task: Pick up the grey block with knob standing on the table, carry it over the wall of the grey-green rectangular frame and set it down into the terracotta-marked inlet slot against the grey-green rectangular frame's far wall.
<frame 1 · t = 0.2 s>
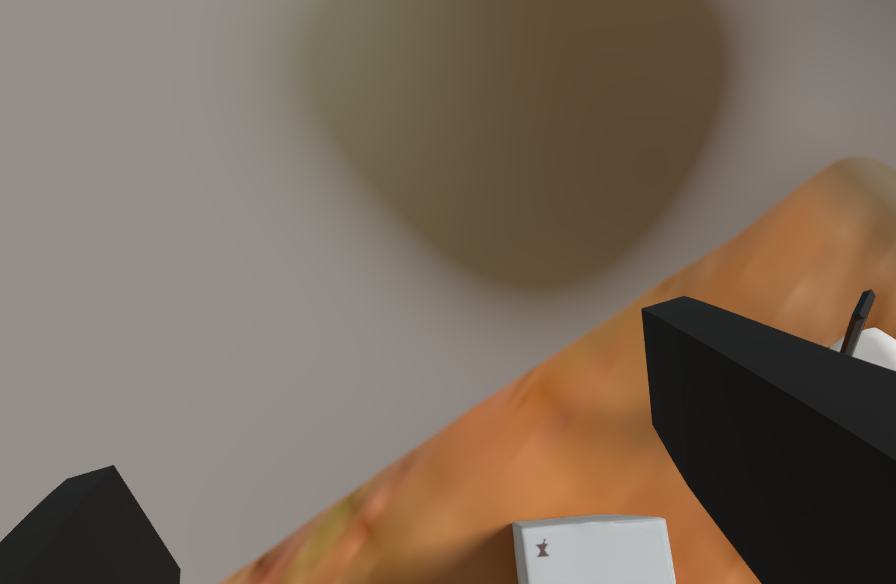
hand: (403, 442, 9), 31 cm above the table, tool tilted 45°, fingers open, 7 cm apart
cocoa: (830, 401, 39), on the table
skincare box: (567, 555, 37), on the table
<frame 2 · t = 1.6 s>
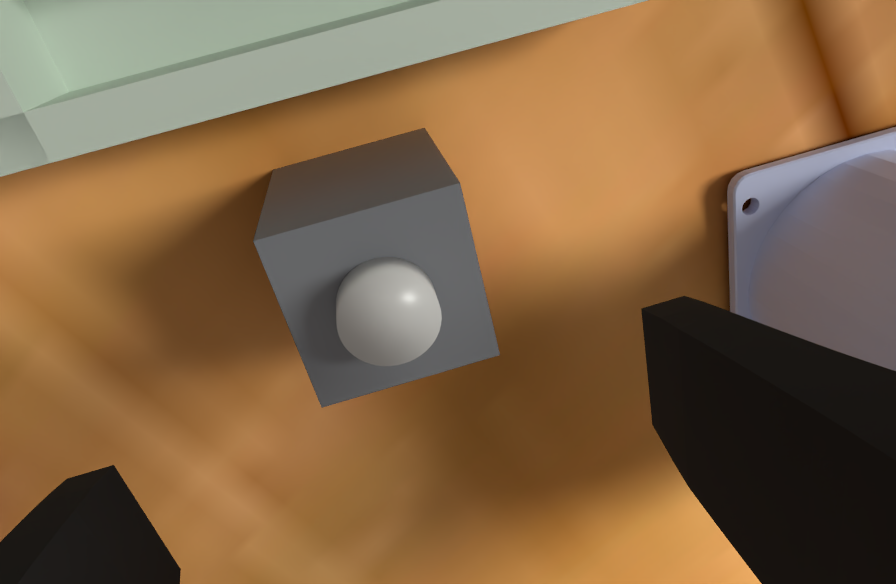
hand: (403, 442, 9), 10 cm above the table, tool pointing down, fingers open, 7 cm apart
grey block with knob: (371, 219, 17), on the table
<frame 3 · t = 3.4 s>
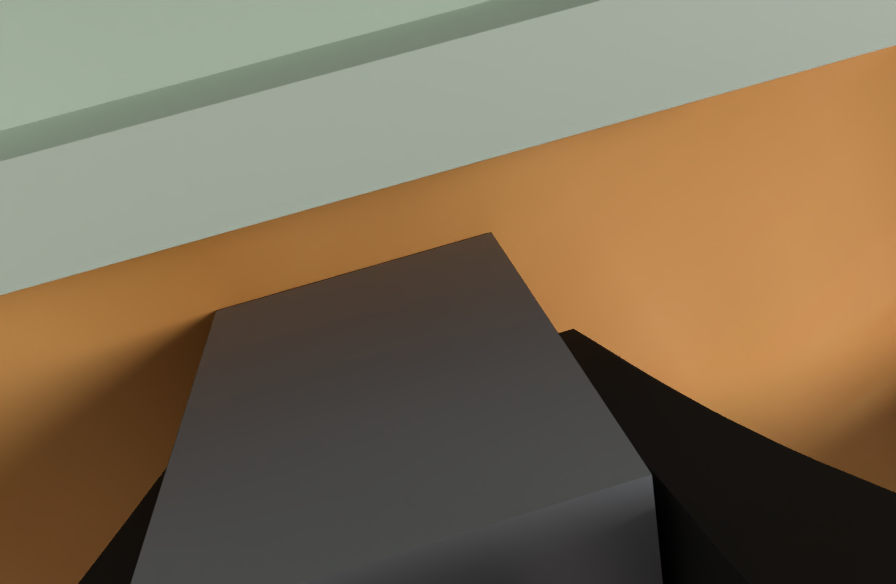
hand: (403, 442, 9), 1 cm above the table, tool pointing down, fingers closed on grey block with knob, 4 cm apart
grey block with knob: (392, 383, 10), on the table, touching gripper
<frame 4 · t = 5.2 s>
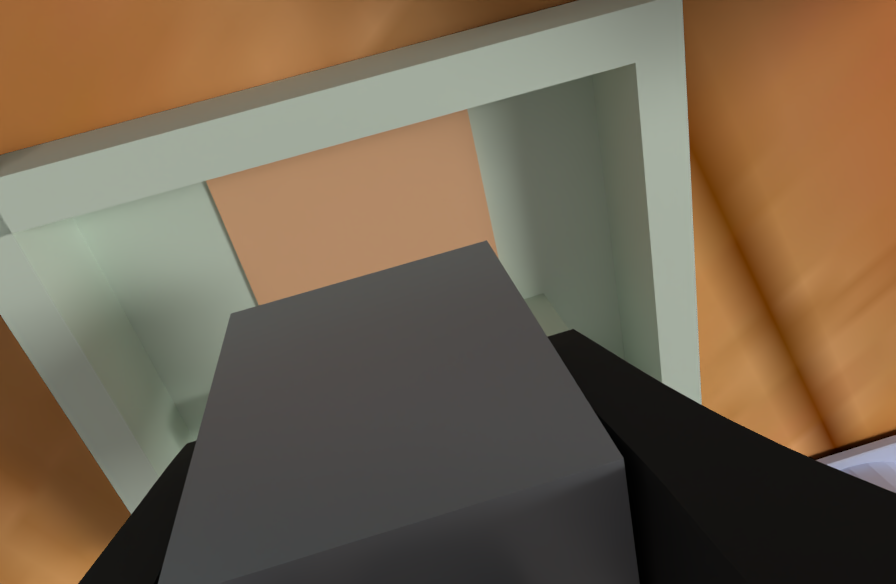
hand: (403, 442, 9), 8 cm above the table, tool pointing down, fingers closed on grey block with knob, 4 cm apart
grey block with knob: (394, 381, 11), point 6 cm above the table, touching gripper
grey-green rectangular frame: (383, 284, 17), on the table
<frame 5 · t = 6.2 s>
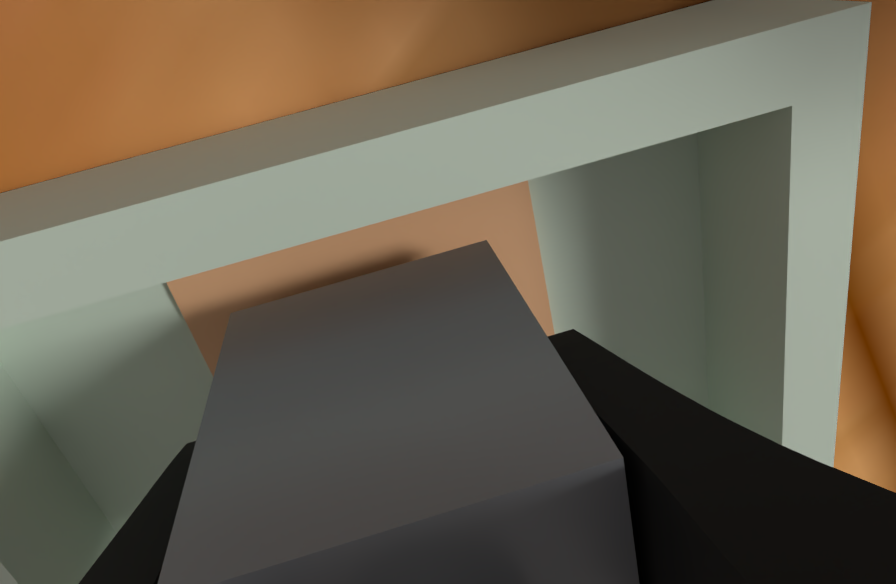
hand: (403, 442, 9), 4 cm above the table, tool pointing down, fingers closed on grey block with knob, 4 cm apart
grey block with knob: (394, 380, 11), point 2 cm above the table, touching gripper
grey-green rectangular frame: (402, 384, 13), on the table
when the fingers open (4 cm above the table, at t = 6.8 s): grey block with knob stays where it is, resting on grey-green rectangular frame.
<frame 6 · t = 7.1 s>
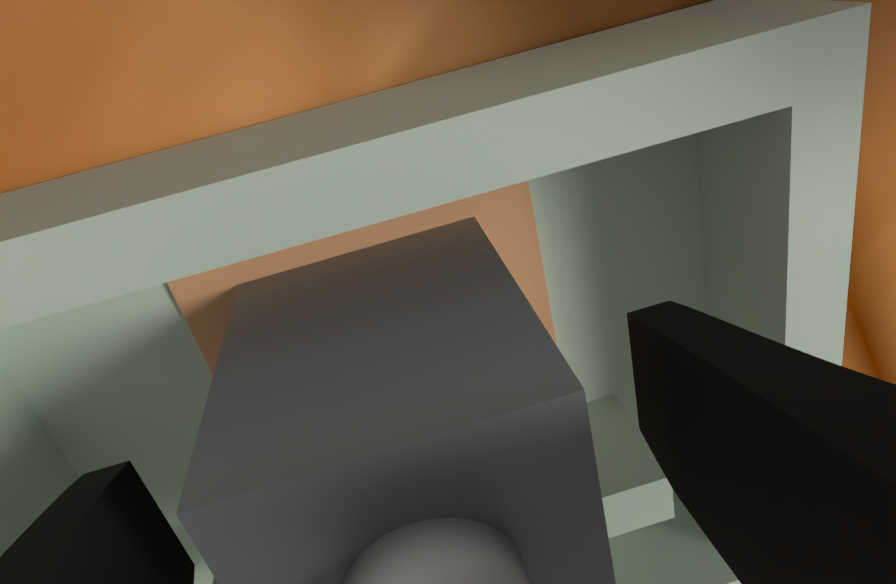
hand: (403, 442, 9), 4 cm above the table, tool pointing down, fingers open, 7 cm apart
grey block with knob: (390, 349, 11), point 1 cm above the table, touching grey-green rectangular frame
grey-green rectangular frame: (403, 384, 13), on the table
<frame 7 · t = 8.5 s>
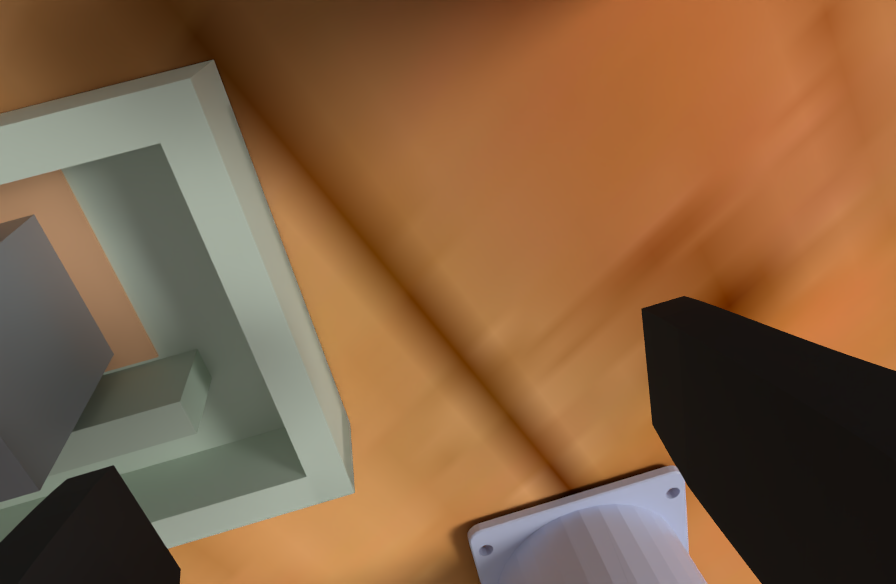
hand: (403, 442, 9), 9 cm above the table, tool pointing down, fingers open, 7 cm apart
grey-green rectangular frame: (33, 340, 17), on the table
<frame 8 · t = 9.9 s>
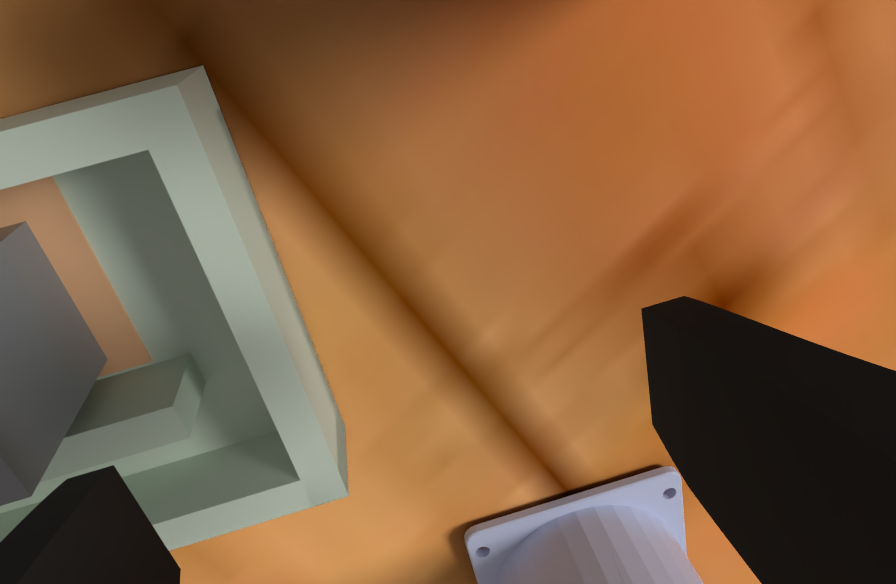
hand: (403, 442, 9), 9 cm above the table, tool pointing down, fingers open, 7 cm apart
grey-green rectangular frame: (27, 345, 17), on the table
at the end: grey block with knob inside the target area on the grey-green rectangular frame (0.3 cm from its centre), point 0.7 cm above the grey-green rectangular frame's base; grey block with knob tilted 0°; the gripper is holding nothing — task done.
